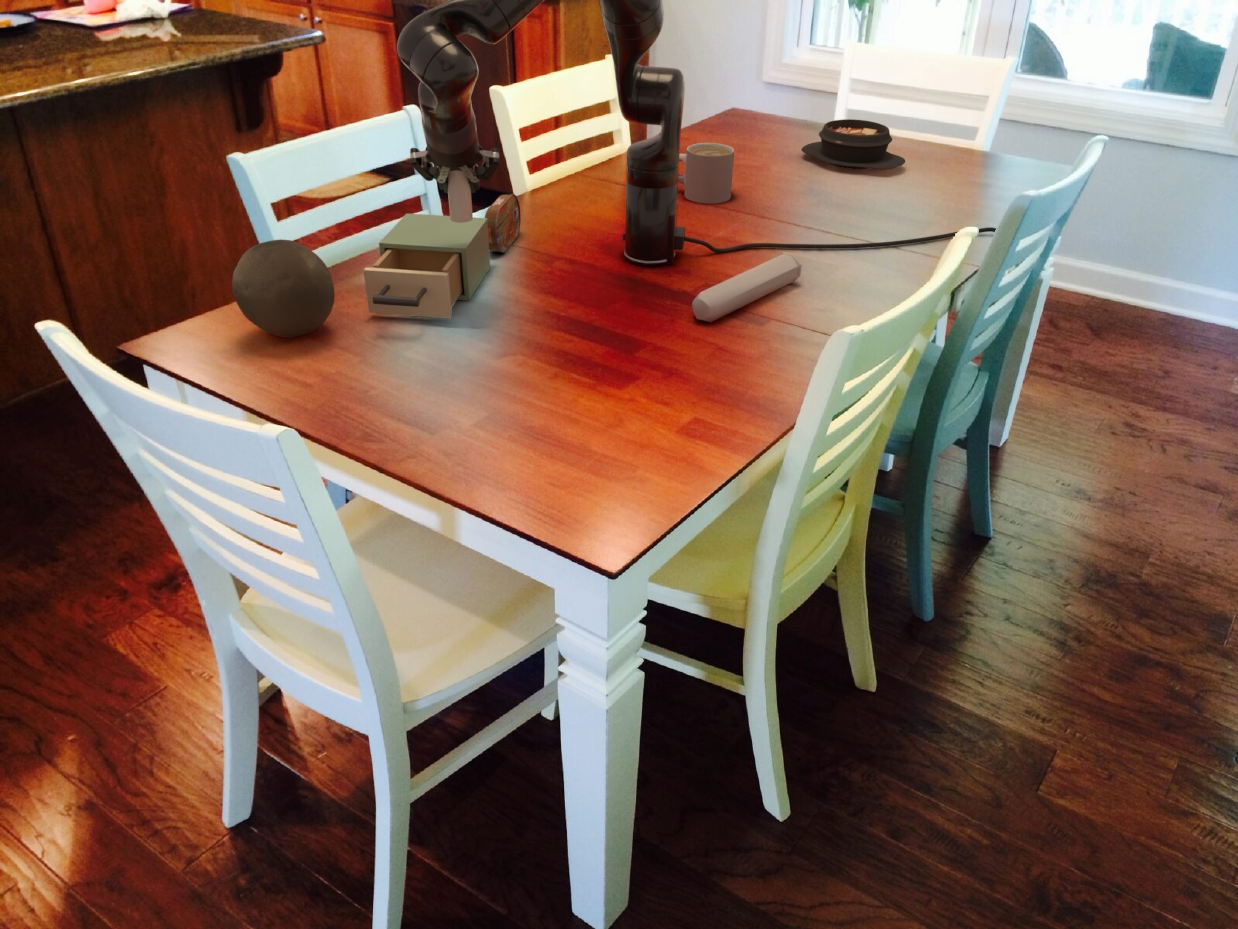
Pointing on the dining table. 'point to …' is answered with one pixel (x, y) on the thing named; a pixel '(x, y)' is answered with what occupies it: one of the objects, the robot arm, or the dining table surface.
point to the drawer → (414, 283)
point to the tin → (503, 222)
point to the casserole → (854, 145)
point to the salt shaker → (459, 197)
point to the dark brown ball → (283, 288)
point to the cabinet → (445, 243)
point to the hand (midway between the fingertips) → (460, 187)
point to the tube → (746, 287)
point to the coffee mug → (707, 172)
